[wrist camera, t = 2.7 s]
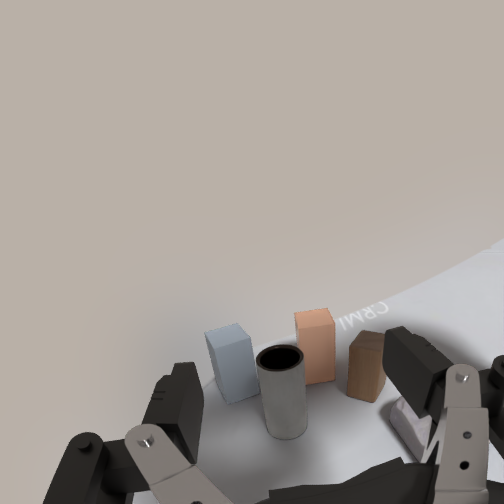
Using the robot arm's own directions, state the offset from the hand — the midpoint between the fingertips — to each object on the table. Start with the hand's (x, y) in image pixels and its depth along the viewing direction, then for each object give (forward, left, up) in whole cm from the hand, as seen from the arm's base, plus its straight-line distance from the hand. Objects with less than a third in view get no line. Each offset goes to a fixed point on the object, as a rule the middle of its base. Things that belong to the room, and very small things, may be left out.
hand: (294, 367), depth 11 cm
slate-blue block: (+1, -22, -19) cm, 29 cm away
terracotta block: (-10, -21, -19) cm, 29 cm away
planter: (-3, -13, -19) cm, 23 cm away
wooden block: (-14, -14, -19) cm, 27 cm away
